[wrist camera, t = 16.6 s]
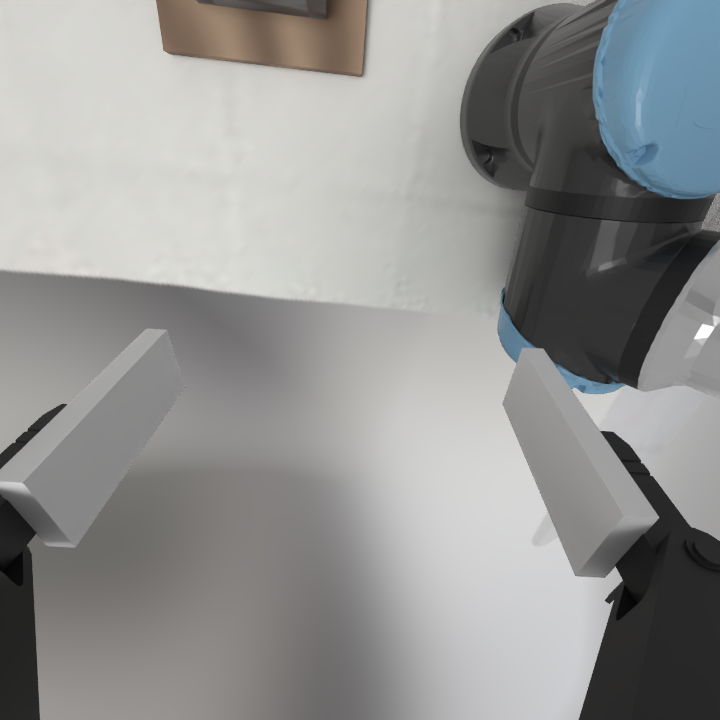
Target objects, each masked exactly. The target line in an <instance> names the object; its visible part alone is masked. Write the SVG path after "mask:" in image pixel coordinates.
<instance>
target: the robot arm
mask: <svg viewBox="0 0 720 720" xmlns="http://www.w3.org/2000/svg"><path fill="white" fill-rule="evenodd" d="M460 128H461V136H462V141H463V145H464V149H465V151H466V154H467V156H468V158H469V160H470V162H471V164H472V165H473V167H474V168H475V169H476V170H477V172H478V173H479V174H480V175H481V176H483V177H484V178H485V179H486V180H488V181H489V182H491V183H493V184H495V185H498V186H501V187H505V188H509V189H514V190H528V193H527V197H526V202H525V204H524V208H523V212H522V217H521V221H520V225H519V229H518V234H517V238H516V242H515V246H514V251H513V255H512V259H511V263H510V268H509V272H508V276H507V280H506V285H505V287H504V288H503V290H502V293H501V298H500V304H501V310H500V315H499V321H498V335H499V338H500V342H501V344H502V347H503V348H504V350H505V351H506V353H507V354H508V355H509V356H510V357H511V358H512V359H513V360H514V361H515V362H516V363H517V364H516V367H515V370H514V373H513V375H512V379H511V381H510V384H509V387H508V390H507V393H506V395H505V398H504V401H503V406H504V408H505V411H506V413H507V415H508V418H509V420H510V422H511V424H512V427H513V430H514V432H515V434H516V437H517V439H518V441H519V444H520V446H521V448H522V451H523V453H524V456H525V458H526V460H527V463H528V465H529V468H530V470H531V472H532V475H533V477H534V479H535V482H536V484H537V486H538V489H539V491H540V494H541V496H542V498H543V500H544V503H545V505H546V508H547V510H548V513H549V515H550V517H551V520H552V522H553V524H554V527H555V529H556V531H557V534H558V536H559V539H560V541H561V543H562V546H563V548H564V550H565V553H566V555H567V557H568V560H569V562H570V564H571V567H572V569H573V572H574V574H575V576H584V577H601V578H602V577H603V578H605V577H606V576H607V575H608V574H609V573H610V571H612V569H613V568H614V567H615V566H616V568H617V570H618V572H619V573H620V575H621V577H622V579H623V581H622V582H621V583H620V584H619V585H618V586H617V587H616V588H615V589H614V590H613V591H612V592H611V593H610V594H609V596H608V597H607V598H606V600H605V601H606V602H607V603H609V604H610V603H611V602H612V601H613V600H614V602H613V606H612V609H611V612H610V616H609V619H608V623H607V626H606V629H605V633H604V636H603V639H602V643H601V646H600V650H599V653H598V656H597V660H596V663H595V667H594V670H593V673H592V677H591V680H590V683H589V687H588V691H587V694H586V697H585V700H584V704H583V708H582V711H581V714H580V718H579V720H720V541H719V540H717V539H715V538H714V537H712V536H711V535H709V534H708V533H705V532H702V531H700V530H698V529H695V528H691V527H690V525H689V524H688V523H687V522H686V520H685V519H684V518H683V516H682V515H681V514H680V512H679V511H678V510H677V508H676V507H675V506H674V504H673V503H672V502H671V500H670V499H669V498H668V496H667V495H666V494H665V492H664V491H663V489H662V488H661V487H660V486H659V484H658V483H657V481H656V480H655V479H654V477H653V476H650V472H649V471H648V469H647V468H646V467H645V465H644V464H642V463H641V460H640V459H639V457H638V456H637V455H636V453H635V452H634V451H633V449H632V448H631V447H630V445H629V444H627V443H626V442H625V441H624V440H622V439H621V438H620V437H619V436H617V435H616V434H615V433H614V432H608V431H600V430H599V429H598V427H597V426H596V425H595V423H594V422H593V420H592V419H591V417H590V416H589V414H588V413H587V412H586V410H585V409H584V407H583V406H582V404H581V403H580V401H579V400H578V398H577V397H576V396H575V394H574V393H573V391H572V390H571V389H573V388H574V387H575V388H577V389H579V390H580V391H581V392H582V393H587V394H605V393H609V392H614V391H616V390H618V389H619V388H621V387H622V386H625V385H628V386H631V387H633V388H636V389H638V390H640V391H643V392H649V391H653V390H658V389H662V388H666V387H670V386H685V385H686V386H688V387H691V388H693V389H696V390H699V391H701V392H704V393H706V394H709V395H712V396H714V397H717V398H720V232H715V231H708V230H703V229H701V226H702V223H703V221H704V219H705V216H706V214H707V212H708V210H709V208H710V206H711V204H712V202H713V200H714V198H715V196H716V194H717V193H720V0H595V1H594V2H592V3H590V4H588V5H587V6H580V5H575V4H568V3H559V4H552V5H547V6H543V7H540V8H537V9H535V10H533V11H531V12H529V13H527V14H525V15H523V16H522V17H520V18H518V19H517V20H516V21H514V22H513V23H511V24H510V25H508V26H507V27H506V28H504V29H503V30H502V31H501V32H500V33H499V34H498V35H497V36H496V37H495V38H494V39H493V40H492V41H491V42H490V43H489V44H488V46H487V47H486V48H485V49H484V51H483V52H482V54H481V55H480V57H479V58H478V60H477V62H476V64H475V65H474V67H473V69H472V72H471V74H470V76H469V79H468V81H467V84H466V87H465V91H464V94H463V99H462V105H461V114H460ZM184 388H185V386H184V383H183V380H182V377H181V374H180V370H179V367H178V364H177V361H176V358H175V355H174V352H173V348H172V345H171V342H170V339H169V336H168V333H167V330H157V329H146V330H144V332H142V333H141V334H140V335H139V336H138V337H137V338H136V339H135V340H134V341H133V342H132V343H131V344H130V345H129V346H128V347H127V348H126V349H125V350H124V351H123V352H122V353H121V354H120V355H119V356H117V358H115V359H114V361H112V363H110V364H109V365H108V366H107V367H106V368H105V369H104V370H103V371H102V372H101V373H100V374H99V375H98V376H97V377H96V378H95V379H94V380H93V381H92V382H90V383H89V384H88V385H87V386H86V387H85V388H84V389H83V390H82V391H81V392H80V393H79V394H78V395H77V396H76V397H75V398H74V399H73V400H72V401H71V402H70V403H69V404H61V405H59V406H58V407H56V408H54V409H53V410H51V411H49V412H47V413H46V414H44V415H42V416H41V417H40V418H39V419H38V420H37V421H36V422H35V423H34V424H33V425H31V426H30V427H29V428H28V431H27V432H24V433H23V434H22V435H21V436H20V437H18V438H17V439H16V442H15V443H12V444H11V445H10V446H9V447H8V448H7V449H5V450H4V451H3V452H2V453H1V454H0V720H40V714H39V693H38V675H37V653H36V633H35V613H34V593H33V573H32V554H31V552H30V549H29V547H27V544H28V543H29V542H30V540H31V539H32V538H33V537H34V536H35V534H37V536H38V537H39V538H40V539H41V540H42V541H43V542H44V543H45V544H46V546H59V547H76V546H77V544H78V543H79V541H80V540H81V539H82V537H83V536H84V534H85V532H86V531H87V530H88V528H89V527H90V525H91V524H92V523H93V521H94V519H95V518H96V516H97V515H98V514H99V512H100V510H101V509H102V508H103V506H104V505H105V503H106V502H107V500H108V499H109V497H110V496H111V495H112V493H113V492H114V490H115V489H116V487H117V486H118V485H119V483H120V482H121V480H122V479H123V477H124V476H125V474H126V473H127V471H128V470H129V468H130V467H131V466H132V464H133V463H134V461H135V460H136V458H137V456H138V455H139V454H140V452H141V451H142V449H143V448H144V447H145V445H146V444H147V442H148V440H149V439H150V438H151V436H152V435H153V433H154V432H155V430H156V429H157V428H158V426H159V424H160V423H161V421H162V420H163V419H164V417H165V416H166V414H167V413H168V411H169V410H170V408H171V407H172V406H173V404H174V403H175V401H176V400H177V398H178V397H179V395H180V394H181V392H182V391H183V389H184Z"/></svg>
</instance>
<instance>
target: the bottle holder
mask: <svg viewBox="0 0 720 720" xmlns="http://www.w3.org/2000/svg"><path fill="white" fill-rule="evenodd" d="M156 2H157V9H158V15H159V22H160V29H161V36H162V43H163V49H164V51H165V52H167V53H169V54H173V55H182V56H190V57H199V58H207V59H216V60H224V61H233V62H241V63H250V64H258V65H267V66H275V67H284V68H292V69H301V70H309V71H318V72H326V73H335V74H343V75H352V76H360V77H361V75H362V67H363V53H364V39H365V24H366V10H367V0H156Z"/></svg>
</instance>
